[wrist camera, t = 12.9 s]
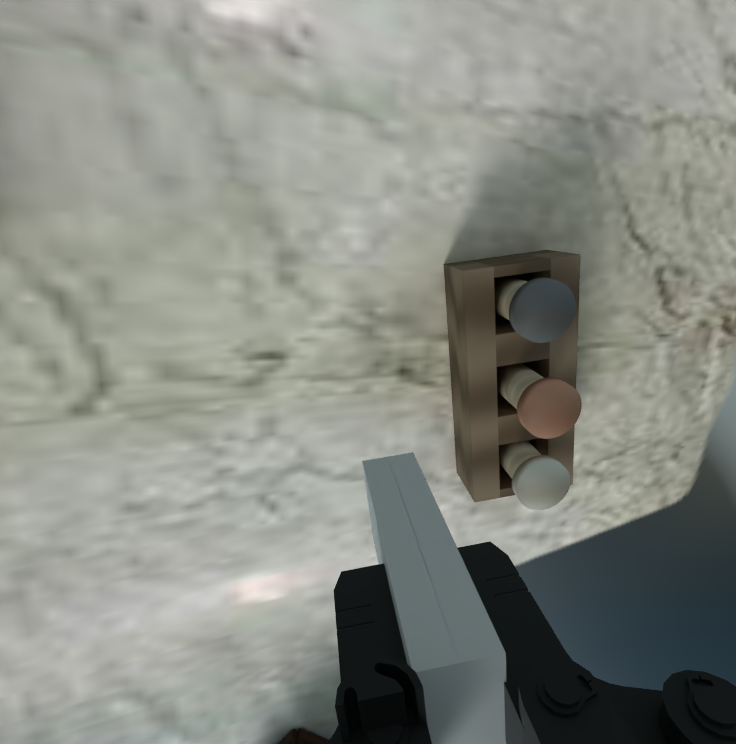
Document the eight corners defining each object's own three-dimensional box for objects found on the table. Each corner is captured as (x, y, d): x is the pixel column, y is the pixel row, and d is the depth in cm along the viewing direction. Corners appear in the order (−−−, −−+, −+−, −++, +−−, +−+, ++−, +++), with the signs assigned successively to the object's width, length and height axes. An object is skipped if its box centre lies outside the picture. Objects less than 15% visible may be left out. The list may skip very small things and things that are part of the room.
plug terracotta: (481, 354, 40) (522, 387, 32) (530, 347, 40) (582, 377, 32) (482, 401, 41) (522, 443, 33) (530, 393, 41) (580, 433, 34)
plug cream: (479, 422, 43) (516, 466, 35) (524, 415, 43) (571, 457, 36) (481, 463, 44) (517, 514, 37) (525, 456, 45) (569, 504, 37)
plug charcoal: (473, 270, 38) (514, 284, 31) (523, 263, 39) (576, 275, 31) (475, 322, 40) (515, 347, 32) (524, 315, 40) (574, 337, 33)
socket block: (443, 264, 38) (463, 271, 34) (547, 250, 39) (580, 254, 34) (456, 472, 45) (474, 502, 40) (544, 456, 46) (572, 484, 41)
